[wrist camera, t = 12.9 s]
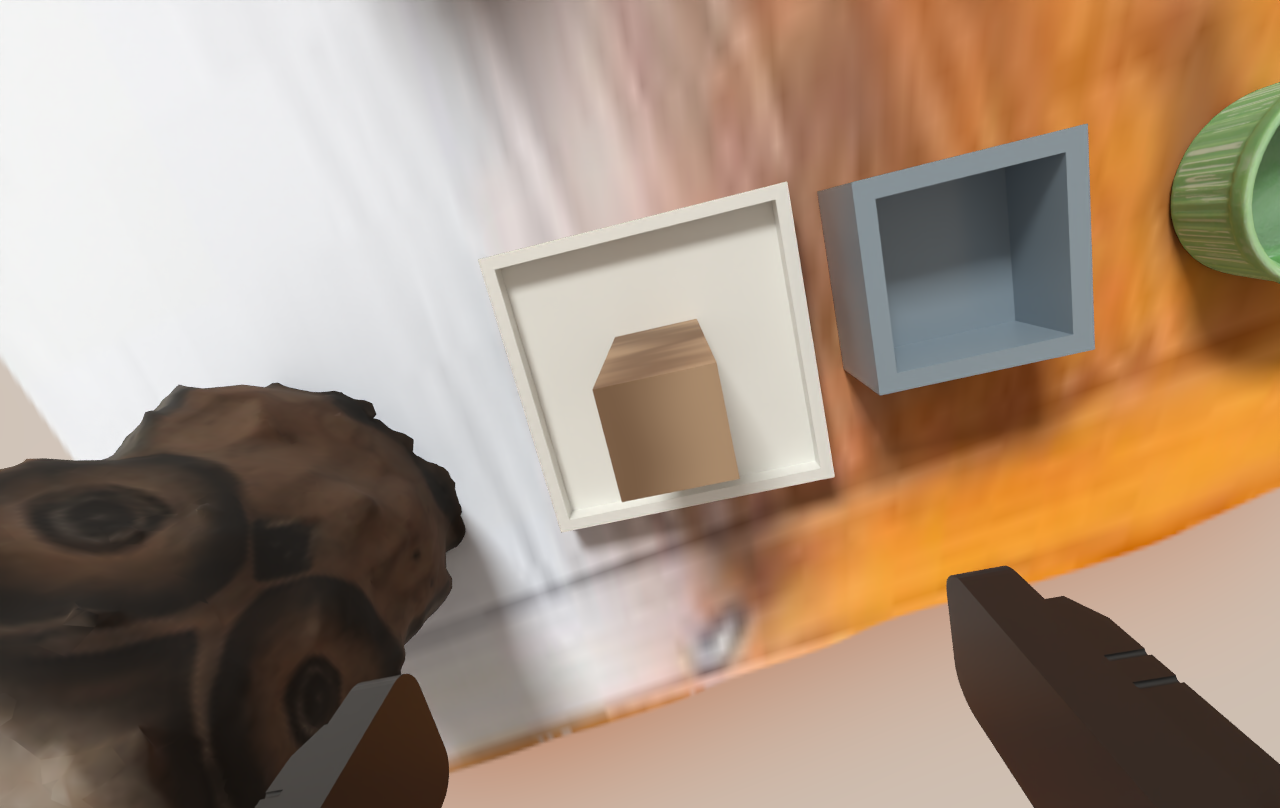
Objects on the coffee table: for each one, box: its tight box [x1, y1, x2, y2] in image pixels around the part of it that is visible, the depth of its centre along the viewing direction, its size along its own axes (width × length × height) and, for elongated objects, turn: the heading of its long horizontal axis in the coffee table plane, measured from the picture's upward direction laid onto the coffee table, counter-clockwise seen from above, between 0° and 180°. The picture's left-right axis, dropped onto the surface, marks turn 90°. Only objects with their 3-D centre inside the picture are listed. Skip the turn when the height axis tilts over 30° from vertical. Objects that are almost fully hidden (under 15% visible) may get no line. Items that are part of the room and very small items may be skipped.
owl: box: [0, 383, 465, 808], centre depth 22 cm, size 13×13×20 cm
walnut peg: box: [592, 319, 740, 502], centre depth 24 cm, size 4×4×10 cm
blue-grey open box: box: [817, 124, 1095, 395], centre depth 25 cm, size 9×9×5 cm
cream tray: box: [478, 182, 835, 533], centre depth 29 cm, size 14×14×2 cm
